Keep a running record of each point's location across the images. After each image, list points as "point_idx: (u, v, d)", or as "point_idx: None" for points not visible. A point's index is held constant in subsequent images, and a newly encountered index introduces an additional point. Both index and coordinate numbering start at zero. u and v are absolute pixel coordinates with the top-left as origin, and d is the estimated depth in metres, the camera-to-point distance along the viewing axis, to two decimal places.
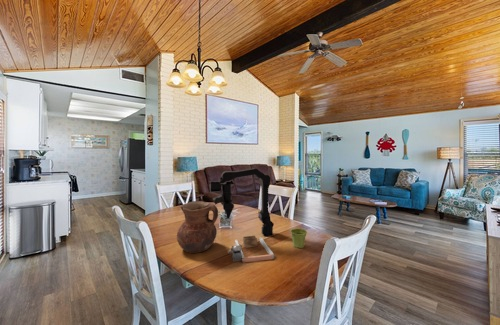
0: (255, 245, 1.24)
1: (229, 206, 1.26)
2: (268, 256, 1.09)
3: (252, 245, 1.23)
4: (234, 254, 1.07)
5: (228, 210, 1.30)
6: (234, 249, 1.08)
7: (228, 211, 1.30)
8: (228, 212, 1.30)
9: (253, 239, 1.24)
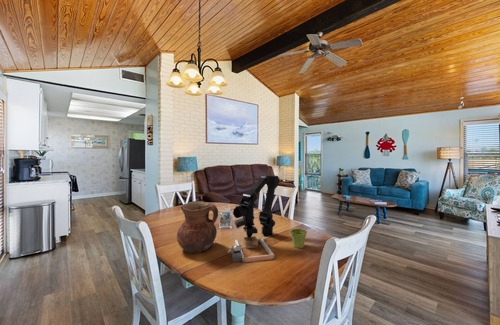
0: (255, 246, 1.23)
1: (253, 231, 1.20)
2: (268, 256, 1.09)
3: (252, 246, 1.22)
4: (234, 254, 1.07)
5: None
6: (234, 249, 1.08)
7: None
8: (249, 234, 1.28)
9: (253, 240, 1.23)
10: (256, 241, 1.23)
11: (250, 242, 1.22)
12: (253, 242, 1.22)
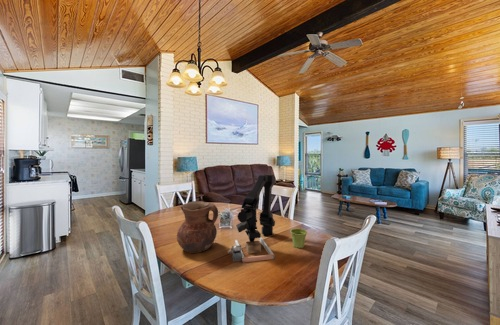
0: (259, 251, 1.17)
1: (256, 236, 1.14)
2: (268, 256, 1.09)
3: (255, 251, 1.16)
4: (234, 254, 1.07)
5: None
6: (234, 249, 1.08)
7: (252, 237, 1.22)
8: (252, 238, 1.22)
9: (256, 244, 1.17)
10: (259, 246, 1.16)
11: (253, 247, 1.16)
12: (256, 247, 1.16)
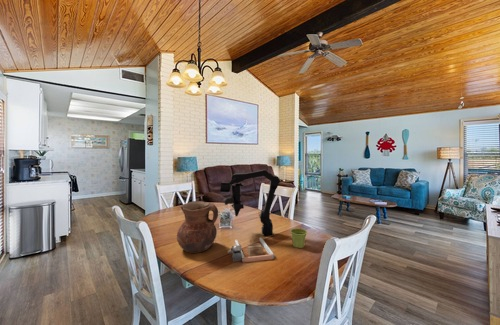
0: (260, 254, 1.13)
1: (239, 207, 1.33)
2: (268, 256, 1.09)
3: (257, 254, 1.13)
4: (234, 254, 1.07)
5: (237, 209, 1.41)
6: (234, 249, 1.08)
7: (237, 209, 1.41)
8: (237, 210, 1.41)
9: (258, 247, 1.13)
10: (261, 249, 1.13)
11: (255, 250, 1.12)
12: (258, 250, 1.12)
